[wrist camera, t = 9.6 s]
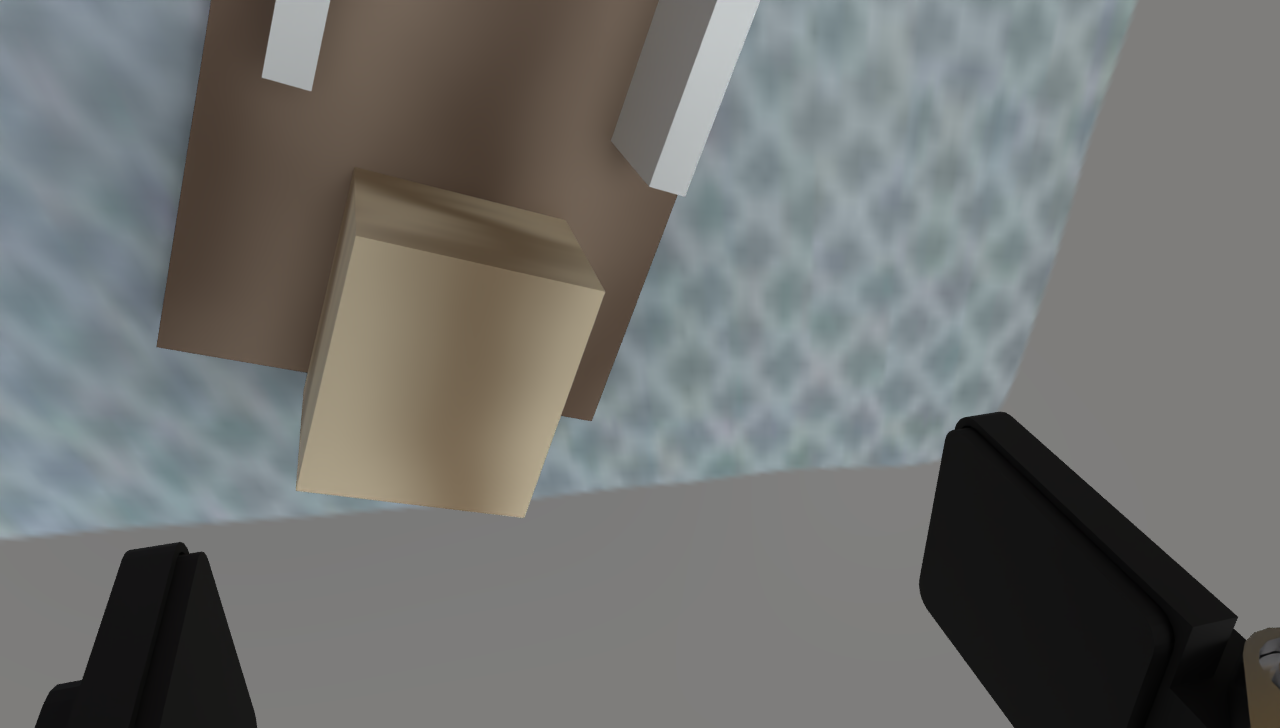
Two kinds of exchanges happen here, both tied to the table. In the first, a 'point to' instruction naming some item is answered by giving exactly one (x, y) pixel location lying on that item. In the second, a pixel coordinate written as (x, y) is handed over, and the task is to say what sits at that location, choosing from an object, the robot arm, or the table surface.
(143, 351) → the table surface
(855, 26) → the table surface
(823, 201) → the table surface
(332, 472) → the maple block
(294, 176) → the channel board
